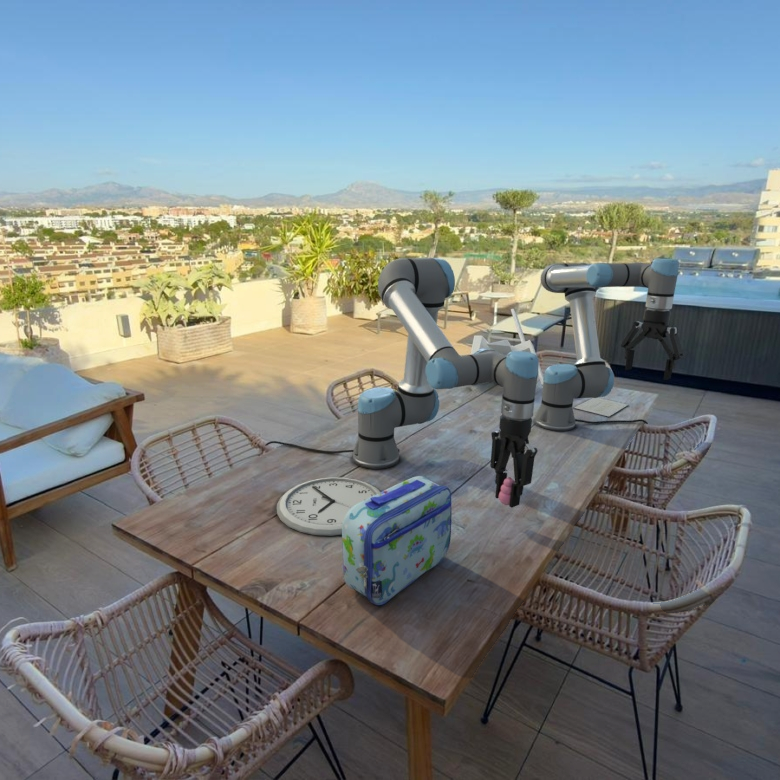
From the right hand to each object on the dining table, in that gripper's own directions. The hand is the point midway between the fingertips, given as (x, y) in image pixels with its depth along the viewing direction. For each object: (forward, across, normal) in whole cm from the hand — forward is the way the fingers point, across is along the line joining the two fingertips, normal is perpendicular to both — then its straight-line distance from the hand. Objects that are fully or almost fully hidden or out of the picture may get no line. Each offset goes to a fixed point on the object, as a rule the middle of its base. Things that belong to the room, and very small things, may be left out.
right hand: (646, 374), depth 171 cm
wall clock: (+28, -21, -104) cm, 110 cm away
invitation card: (+28, -37, +33) cm, 57 cm away
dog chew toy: (+22, +10, -70) cm, 74 cm away
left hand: (+22, +10, -70) cm, 74 cm away
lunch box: (+28, +14, -106) cm, 110 cm away
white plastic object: (+28, -82, +15) cm, 88 cm away
